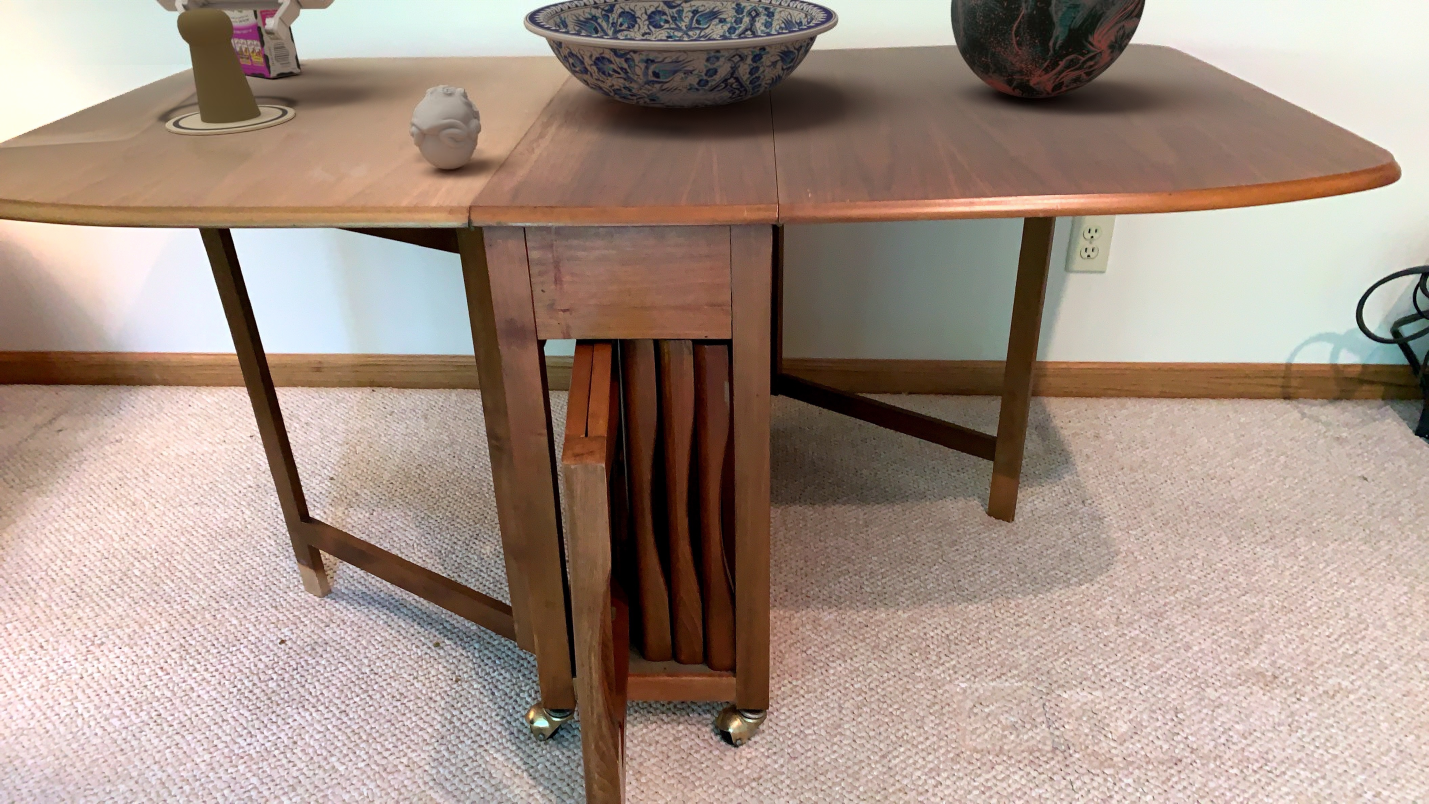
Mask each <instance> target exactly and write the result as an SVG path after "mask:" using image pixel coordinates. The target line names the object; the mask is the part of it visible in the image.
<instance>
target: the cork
mask: <svg viewBox="0 0 1429 804" xmlns="http://www.w3.org/2000/svg"><path fill="white" fill-rule="evenodd" d="M176 28H177V30H178V33H179V35H180V37H181V38H182V40H183V41H184V42H185V43H186V44H187V45H188V48H189V54H190V60H191V66H192V67H191V68H192V74H193V79H194V85H195V90H196V98H197V104H198V110H199V111H200V117H201V121H202V122H205V123H215V124H216V123H233V122H240V121H245V120H250V119H253V118H256V117H258V116H260V115H261V112H260V110H259V108H258V105H259V104H258V103H257V101H256V98H255V96H254V93H253V89H252V88H251V86H250V84H249V81H248V79H247V76H246V75H245V73H244V71H243V69H242V66H241V64H240V61H239V59H238V56H237V54H236V52H235V49H234V47H233V44H232V42H231V40H232V38H233V35H234V28H233V24H232V21H231V19H230V18H229V16H228V15H227V14H226V13H225V12H223V11H221V10H217V9H210V8H199V9H192V10H188V11H185V12H182V13H181V14H178V16H177V19H176Z"/></svg>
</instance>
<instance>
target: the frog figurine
mask: <svg viewBox="0 0 1429 804" xmlns="http://www.w3.org/2000/svg"><path fill="white" fill-rule="evenodd" d="M468 96H469V95H468V92H467V91H466V88H464V87H455V86H452V85H450V84H445V85H444V84H441V85H440V84H439V85H437V86H433V87H430V88H428V89H426V92H425V95H424V97H422V99H421V100H420V101H419V103H418V104H417V105H416V107H415V108H414V110H413V113H412V119H411V121H410V129H409V134H410V136H411V138H413V144H414V145H415V146H416V147H417V148H418V150H419V152H420V154H421V155H422V157H423V158H424V159H425V160H426V161H427V162H428V163H429V164H430V165H432V166H434V167H435V168H438V169H443V170H456V169H458V168H461V167H463V166H465V165H466V164H467V163H468V162H469V161H470V160H471V158H472V157H473V155H474V153H475V151H476V149H477V146H478V145H479V143H478V139H479V134H480V133H481V131H482V124H481V115H480V111H479V108H478V107H477V106H476V104H475V103H474V102H473V101H472V100H471V99H470V98H469V97H468Z"/></svg>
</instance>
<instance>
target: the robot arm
mask: <svg viewBox="0 0 1429 804" xmlns="http://www.w3.org/2000/svg"><path fill="white" fill-rule="evenodd" d="M155 1H156V2H157V3H158V5H160V6H161V8H163V9H164V10H165V11H167V12H178V15H180V14H181V13H182V12H185V11H188V10H192V9H199V8H210V9H217V10H221V11H229V10H278V11H277V13H276V14H275V15H274V17H271V18H266V22H265V23H266V26H265V33H266V34H267V36H269V38H270V39H271V40H285V38H286V32H287V28H289V26H291V25H292V24H294V22H296V20H297V19H298V18H299V17H300V16H301V15H300V14H301V10H326V9H328V8H329V7H330V6H332V4H333V3H335V0H155Z"/></svg>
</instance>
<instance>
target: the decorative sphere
mask: <svg viewBox="0 0 1429 804" xmlns="http://www.w3.org/2000/svg"><path fill="white" fill-rule="evenodd" d="M1145 6H1146V0H951V2H950V23H951V29H952V34H953V38H954V42H955V45H956V47H957V50H958V51H959V54H960V56H961V57H962V59H963V61H964V62H965V64H966V65H967V66H968V68H969V69H970V70H971V71H972V73H973V74H974V75H975V76H976V77H978V78H979V79H980V80H981V81H982V82H984V83H985V84H986V85H988V86H990V87H991V88H993V89H995V90H997V91H999V92H1001V93H1005V94H1006V95H1010V96H1013V97H1018V98H1025V99H1045V98H1052V97H1057V96H1061V95H1064V94H1068V93H1070V92H1072V91H1075V90H1078V89H1079V88H1082V87H1085V86H1086V85H1087V84H1089V83H1090V82H1092V81H1093V80H1095V79H1097V78H1098V77H1099V76H1101V75H1102V74H1103V73H1104V72H1106V71H1107V70H1108V69H1109V68H1110V67H1111V66H1112V65H1113V64H1114V63H1115V62H1116V61H1117V60H1118V59H1119V57H1121V55H1122V54H1123V53H1124V51H1125V50H1126V48H1127V47H1128V45H1129V44H1130V42H1131V41H1132V39H1133V37H1134V35H1135V34H1136V32H1137V30H1138V27H1139V25H1140V22H1141V19H1142V17H1143V13H1144V11H1145V10H1144V9H1145Z"/></svg>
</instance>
